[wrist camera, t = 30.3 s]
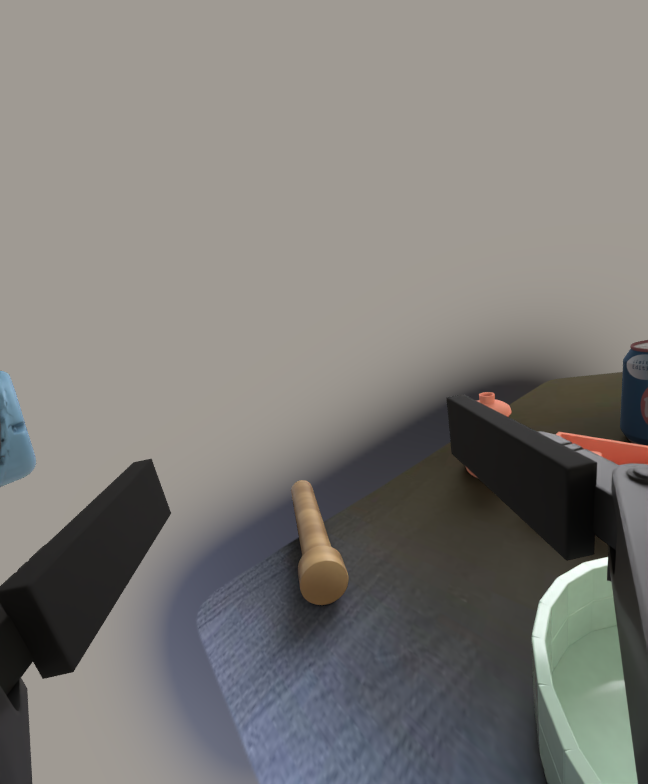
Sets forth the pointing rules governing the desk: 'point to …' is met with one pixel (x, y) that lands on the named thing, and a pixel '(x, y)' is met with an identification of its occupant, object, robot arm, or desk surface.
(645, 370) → the soda can
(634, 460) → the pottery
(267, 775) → the desk surface
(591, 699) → the bowl
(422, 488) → the desk surface
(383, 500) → the desk surface
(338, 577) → the pestle
